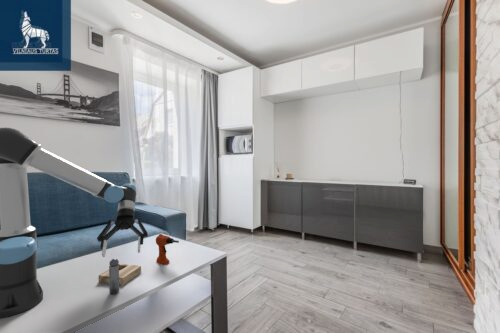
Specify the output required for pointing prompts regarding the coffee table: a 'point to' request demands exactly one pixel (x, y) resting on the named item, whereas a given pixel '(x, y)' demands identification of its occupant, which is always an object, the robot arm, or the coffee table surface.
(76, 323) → the coffee table surface
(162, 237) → the toy drill
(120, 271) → the block
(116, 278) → the metal round-headed rod
